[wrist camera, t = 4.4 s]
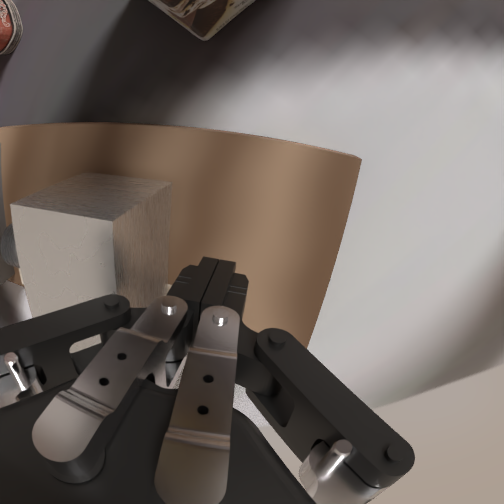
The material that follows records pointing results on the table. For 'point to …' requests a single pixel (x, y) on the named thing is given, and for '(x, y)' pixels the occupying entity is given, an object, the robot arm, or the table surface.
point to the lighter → (9, 27)
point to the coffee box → (202, 14)
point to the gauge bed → (209, 202)
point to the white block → (91, 242)
